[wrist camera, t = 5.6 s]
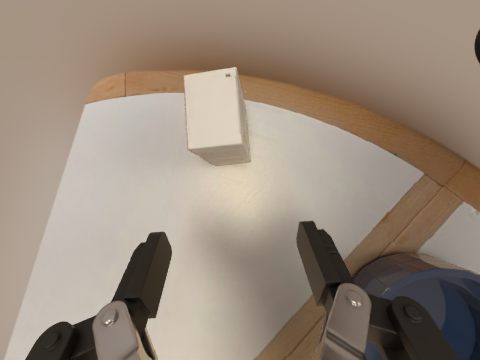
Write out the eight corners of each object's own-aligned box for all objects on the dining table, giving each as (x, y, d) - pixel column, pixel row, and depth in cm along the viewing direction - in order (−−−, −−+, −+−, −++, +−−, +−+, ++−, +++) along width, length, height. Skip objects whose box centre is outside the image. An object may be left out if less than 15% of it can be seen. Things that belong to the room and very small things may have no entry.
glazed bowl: (457, 238, 25) (518, 251, 19) (512, 382, 23) (599, 448, 17) (323, 267, 26) (340, 287, 20) (364, 403, 24) (395, 469, 18)
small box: (211, 115, 30) (181, 72, 20) (247, 110, 30) (236, 63, 19) (214, 166, 30) (185, 150, 19) (251, 163, 29) (242, 144, 18)
